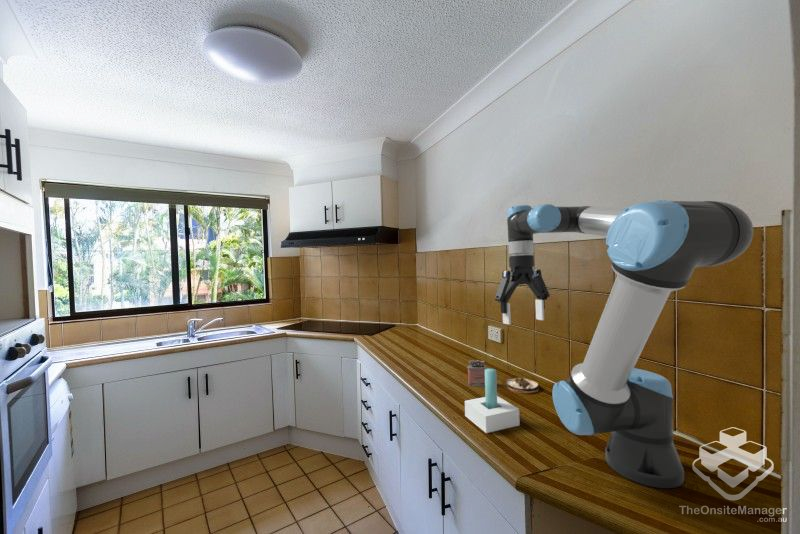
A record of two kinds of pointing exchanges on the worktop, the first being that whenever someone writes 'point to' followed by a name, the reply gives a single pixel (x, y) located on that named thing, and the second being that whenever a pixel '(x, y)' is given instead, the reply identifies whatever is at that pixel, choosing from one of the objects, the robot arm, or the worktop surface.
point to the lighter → (476, 373)
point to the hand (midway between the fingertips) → (523, 321)
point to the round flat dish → (522, 385)
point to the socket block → (492, 414)
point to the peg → (490, 388)
